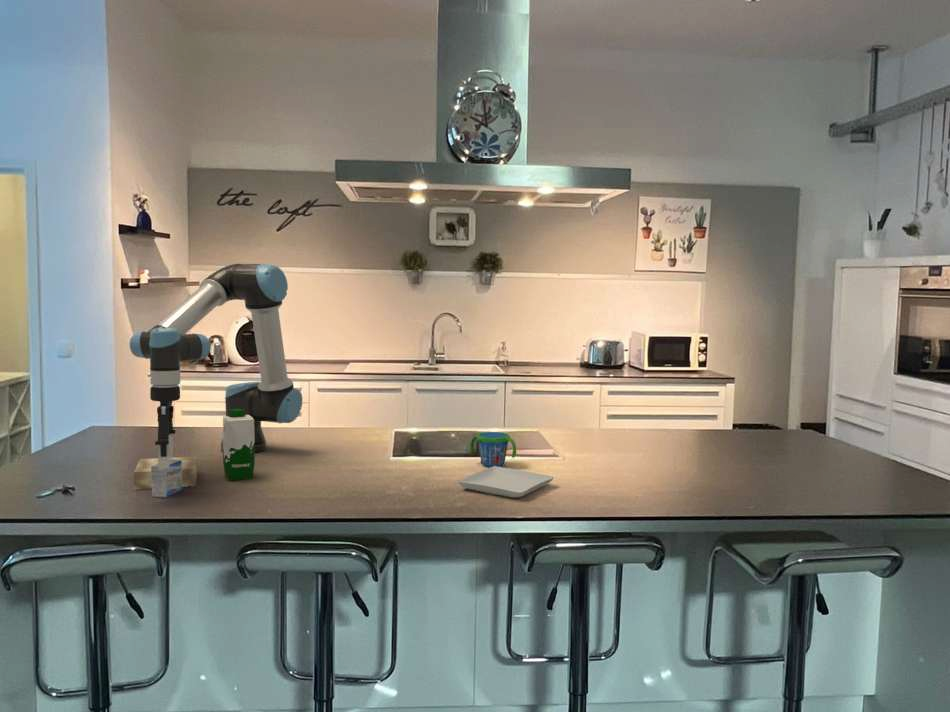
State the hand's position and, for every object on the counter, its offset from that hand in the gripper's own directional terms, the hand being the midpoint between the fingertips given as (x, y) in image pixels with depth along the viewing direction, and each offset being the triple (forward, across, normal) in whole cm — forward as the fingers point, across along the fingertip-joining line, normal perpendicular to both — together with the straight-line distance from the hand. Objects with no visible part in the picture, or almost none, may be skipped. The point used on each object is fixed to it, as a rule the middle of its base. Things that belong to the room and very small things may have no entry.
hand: (165, 463), depth 213 cm
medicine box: (+9, 0, 0) cm, 9 cm away
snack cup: (+8, -11, +98) cm, 99 cm away
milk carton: (+8, -14, +19) cm, 26 cm away
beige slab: (+8, -14, -1) cm, 17 cm away
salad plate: (+9, +16, +93) cm, 95 cm away
